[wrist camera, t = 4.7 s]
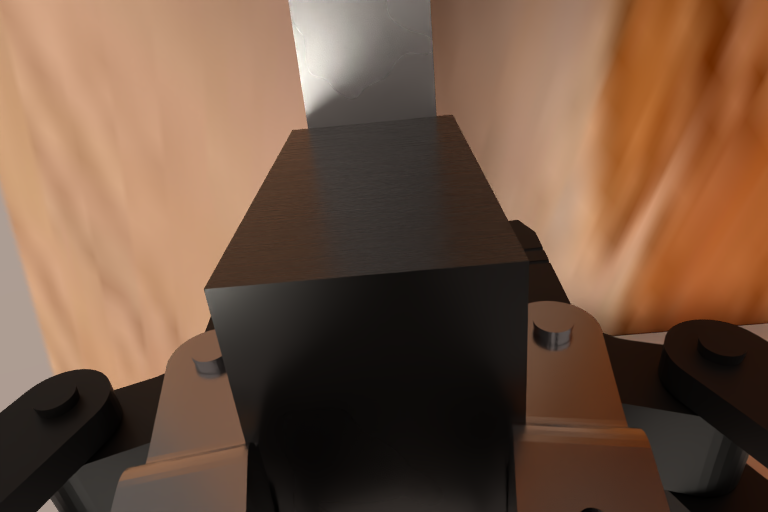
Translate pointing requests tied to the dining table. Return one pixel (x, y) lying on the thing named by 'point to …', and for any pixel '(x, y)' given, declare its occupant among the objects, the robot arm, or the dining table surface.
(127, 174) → the dining table surface
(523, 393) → the scraper
